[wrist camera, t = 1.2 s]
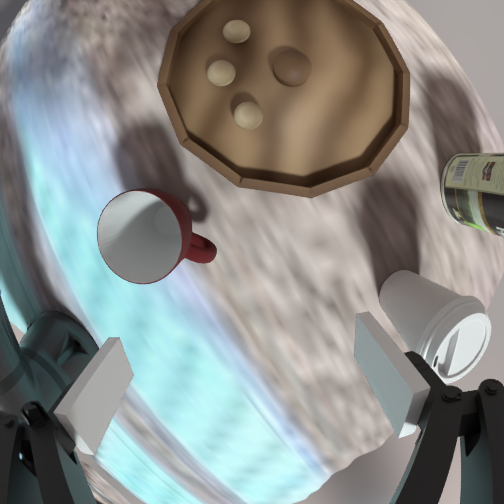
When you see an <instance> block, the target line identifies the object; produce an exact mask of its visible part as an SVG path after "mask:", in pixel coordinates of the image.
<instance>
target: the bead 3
mask: <svg viewBox="0 0 504 504" xmlns="http://www.w3.org/2000/svg"><path fill="white" fill-rule="evenodd" d="M262 120H263V111H262V109H261V107H260V106H259V105H257V104H256V103H254V102H243V103H241V104H239V105H238V106H237V107H236V109H235V111H234V121H235V123H236V124H237V125H238V126H239V127H240V128H242V129H245V130H251V129H255V128H257V127H258V126H259V125H260V124H261V122H262Z"/></svg>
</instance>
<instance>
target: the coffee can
mask: <svg viewBox="0 0 504 504" xmlns="http://www.w3.org/2000/svg"><path fill="white" fill-rule="evenodd" d="M441 195H442V200H443V204H444V207H445V209H446V211H447V213H448V215H449V216H450V217H451V219H452V220H454V221H455V222H456V223H458V224H461V225H466V226H470V227H473V228H477V229H480V230H483V231H486V232H489V233H492V234H495V235H498V236H501V237H504V153H475V154H465V153H460V154H456V155H454V156H453V157H452V158H451V159H450V160H449V161H448V162H447V164H446V166H445V168H444V171H443V174H442V180H441Z"/></svg>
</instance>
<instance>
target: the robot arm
mask: <svg viewBox="0 0 504 504" xmlns="http://www.w3.org/2000/svg"><path fill="white" fill-rule="evenodd" d="M0 294H1V290H0ZM354 357H355V358H356V360H357V362H358V364H359V365H360V367H361V369H362V371H363V373H364V375H365V376H366V378H367V380H368V382H369V384H370V385H371V387H372V389H373V391H374V393H375V395H376V397H377V398H378V400H379V402H380V404H381V406H382V408H383V410H384V412H385V413H386V415H387V417H388V419H389V421H390V423H391V425H392V427H393V429H394V431H395V433H396V435H397V437H398V438H401V437H404V436H406V435H409V434H412V433H414V431H415V429H416V427H417V424H418V426H419V427H420V429H421V432H420V434H419V436H418V439H417V441H416V443H415V444H416V446H415V448H414V451H413V453H412V456H411V458H410V461H409V463H408V466H407V468H406V470H405V472H404V475H403V477H402V479H401V482H400V484H399V486H398V488H397V490H396V492H395V494H394V496H393V498H392V500H391V502H390V503H389V504H438V502H439V499H440V497H441V494H442V491H443V488H444V485H445V482H446V479H447V476H448V473H449V469H450V466H451V462H452V459H453V454H454V450H455V446H456V442H457V438H458V437H459V436H460V446H461V497H460V504H504V386H503V384H502V383H501V382H499V381H498V380H495V379H487V380H484V381H483V382H481V384H480V386H479V388H478V390H473V391H467V392H462V390H461V389H459V388H458V387H455V386H446V384H445V383H444V382H443V381H442V380H441V378H440V377H439V376H438V375H437V374H436V373H435V371H434V370H433V369H432V368H431V367H430V366H429V364H428V363H426V361H425V360H424V359H423V357H422V356H421V355H419V354H417V353H415V352H414V351H410V352H406V353H403V352H402V350H401V349H400V348H399V347H398V346H397V344H396V343H395V342H394V341H393V339H392V338H391V337H390V336H389V335H388V333H387V332H386V331H385V330H384V329H383V327H382V326H381V325H380V324H379V323H378V321H377V320H376V319H375V318H374V317H373V316H372V314H371V313H370V312H363V313H358V314H356V327H355V345H354ZM133 376H134V374H133V371H132V369H131V366H130V364H129V361H128V359H127V356H126V354H125V351H124V348H123V345H122V343H121V340H120V337H114V338H108V339H107V340H106V342H105V343H104V344H103V346H102V347H101V348H100V349H98V347H97V345H96V344H95V342H94V341H93V339H92V338H91V337H90V335H89V334H88V333H87V332H86V331H85V330H84V329H83V328H82V327H81V326H80V325H79V324H78V323H77V322H76V321H74V320H73V319H71V318H70V317H68V316H66V315H64V314H62V313H59V312H56V311H46V312H43V313H41V314H40V315H38V316H37V317H36V318H34V319H33V320H32V321H31V323H30V324H29V326H28V328H27V332H26V334H25V335H24V336H23V338H22V340H21V342H20V344H18V341H17V339H16V337H15V334H14V332H13V329H12V327H11V324H10V322H9V319H8V316H7V314H6V311H5V308H4V305H3V302H2V298H1V295H0V504H97V503H96V500H95V498H94V496H93V494H92V492H91V489H90V487H89V485H88V482H87V480H86V477H85V475H84V472H83V470H82V467H81V464H80V462H79V459H78V456H77V454H76V452H75V451H74V448H75V446H76V445H77V447H78V448H79V449H80V450H81V452H82V453H86V454H90V455H95V454H96V452H97V449H98V447H99V445H100V443H101V441H102V439H103V437H104V434H105V432H106V430H107V428H108V426H109V424H110V422H111V420H112V418H113V416H114V414H115V412H116V410H117V408H118V406H119V404H120V402H121V400H122V398H123V396H124V394H125V392H126V390H127V388H128V386H129V384H130V382H131V380H132V378H133Z"/></svg>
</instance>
